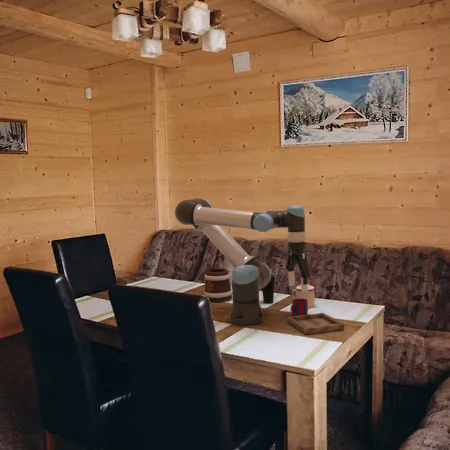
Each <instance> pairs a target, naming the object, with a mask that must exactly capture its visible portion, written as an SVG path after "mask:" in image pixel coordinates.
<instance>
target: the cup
mask: <svg viewBox="0 0 450 450" xmlns="http://www.w3.org/2000/svg"><path fill="white" fill-rule="evenodd" d="M291 301H292V304H291V305H290V312H291V314H292V316H300V315H309V314H308V312H309V311H308V309H309V308H308V300H307V299H301V298H299V299H294V298H293V299H292V300H291Z"/></svg>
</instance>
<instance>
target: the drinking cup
mask: <svg viewBox="0 0 450 450" xmlns="http://www.w3.org/2000/svg"><path fill="white" fill-rule="evenodd" d="M266 265H267V266H268V267H269V262H266ZM275 281H276V274H275V273H272V272H271V279H270V282H269V283H268V284H267V286H266V287H264V288H262V289H261V293H262V299H263V303H264V304H265V305H267V304H274V297H275V296H274V295H275V284H276V283H275Z"/></svg>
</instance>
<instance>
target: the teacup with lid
mask: <svg viewBox="0 0 450 450" xmlns="http://www.w3.org/2000/svg"><path fill="white" fill-rule="evenodd" d="M315 289H316V288H315V287H314V286H312V285H311V284H309V283H308V292H301V284H300V285H297V286H295V289H293V290H292V292H291V296H292V298H293V299H299V298H301V299H307V300H308V309H311V308H314V307H315Z"/></svg>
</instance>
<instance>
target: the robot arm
mask: <svg viewBox="0 0 450 450" xmlns="http://www.w3.org/2000/svg"><path fill="white" fill-rule="evenodd" d="M174 214H175V219H176V220H177V221H178V222H179V223H180V224H181V225H186V226H192V227H193V228H194V229H195V230H196V231H197V232H202V233H203V234H204V235H205V236H206V237H207V238H208V239H209V241H210V242H211V243H212V244H213V245H214V246H215V247H216V248H217V249H218V251H219V252H221V254H222V255H223V256H224V257H225V258H226V259H227V261H228V262H229V263H230V264H231V265H232V267H234V268H233V269H232V270H231V271H232V272H231V290H232V303H231V304H232V305H231V308H230V312H229V315H228V322H230V323H231V324H234V325H239V326H250V325H252V326H253V325H258V324H261V323H263V322H264V321H265V318H264V317H265V315H264V313H263V310H262V306H261V304H260V290H261V291H262V288H264V287H266V286H267V284H268V283H269V282H270V279H271V273H272V272H271V269H270V267H269V265H268V266H267V263H264V262H260V261H259V260H258V259H257V258H256V257H255V256H254V255H253V256H252V255H249V253H247V251H246V250H244V248H242V246H241V245H240V244H239V243H238V242H237V241H236V240H235V238H234V237H233V236H232V235H231V234H230V233H229V232H228V231H227V229H226V228H224V227H228V228H237V229H238V228H239V229H244V230H245V229H246V230H247V229H248V230H254V231H258V232H260V233H266V232H269V231H270V230H274V229H278V228H279V229H281V228H282V229H284V228H285V229H286V228H287V241H288V242H287V245H288V246H287V248H288V249H287V250H288V251H287V259H286V263H285V264H286V265H285V270H287V272H288V275H287V276H288V277H287V278H288V287H291V286H293V287H294V286H295V285H296V281H295V280H296V279H295V277H296V276H295V267H296V265H298V268H299V272H300V274H301V276H300V285H301V292H308V284H309V282H308V281H309V280H308V278H309V277H310V276H311V272H310V268H309V263H308V260H307V254H306V253H303V251H305V250H306V241H305V240H306V224H305V223H306V221H305V220H306V219H305V218H306V216H305V207H304V206H302V205H289V206H287V207H286V210H266V211H265V210H264V211H262V212H257V211H256V212H255V211H248V210H236V209H227V208H218V207H213V206H212V204H211V203H210V202H209V201H208V200H207V199H204V198H199V197H198V198H196V197H195V198H192V199H184V200H181V201H180V202H178V203H177V205H176V206H175V210H174Z"/></svg>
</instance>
